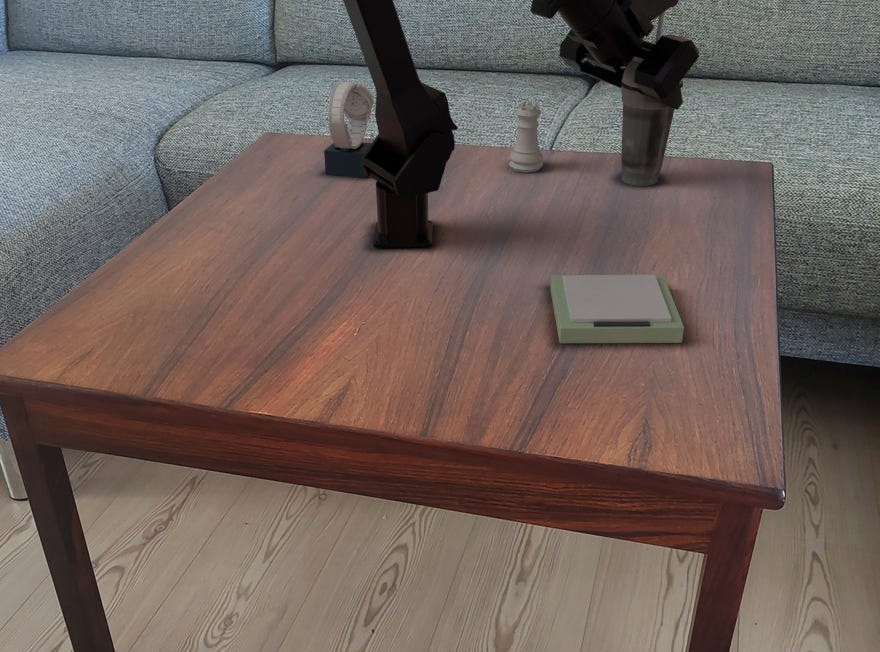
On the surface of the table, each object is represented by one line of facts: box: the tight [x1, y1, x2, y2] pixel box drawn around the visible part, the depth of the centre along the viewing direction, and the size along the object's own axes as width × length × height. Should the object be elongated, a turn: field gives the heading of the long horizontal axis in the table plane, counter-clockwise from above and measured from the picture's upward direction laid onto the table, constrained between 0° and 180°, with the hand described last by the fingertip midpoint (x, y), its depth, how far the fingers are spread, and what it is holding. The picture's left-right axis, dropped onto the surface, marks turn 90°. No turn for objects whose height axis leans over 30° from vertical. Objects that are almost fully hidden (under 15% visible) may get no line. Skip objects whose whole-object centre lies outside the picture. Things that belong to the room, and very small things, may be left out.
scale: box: [549, 273, 685, 344], centre depth 88 cm, size 11×11×2 cm
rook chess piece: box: [508, 101, 544, 174], centre depth 120 cm, size 4×4×8 cm
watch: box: [323, 81, 375, 179], centre depth 120 cm, size 6×8×11 cm
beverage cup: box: [620, 12, 684, 187], centre depth 111 cm, size 7×7×20 cm
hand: (659, 98), depth 112 cm, fingers closed on beverage cup, 7 cm apart
